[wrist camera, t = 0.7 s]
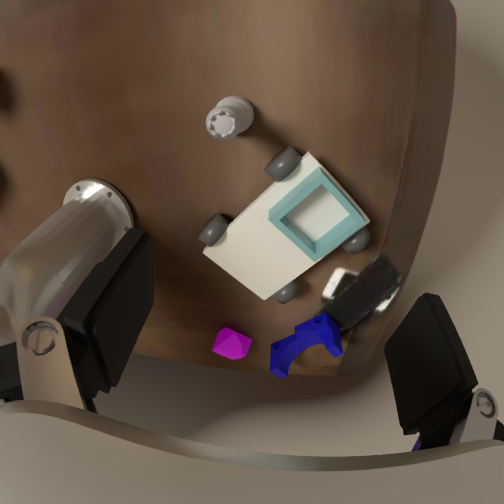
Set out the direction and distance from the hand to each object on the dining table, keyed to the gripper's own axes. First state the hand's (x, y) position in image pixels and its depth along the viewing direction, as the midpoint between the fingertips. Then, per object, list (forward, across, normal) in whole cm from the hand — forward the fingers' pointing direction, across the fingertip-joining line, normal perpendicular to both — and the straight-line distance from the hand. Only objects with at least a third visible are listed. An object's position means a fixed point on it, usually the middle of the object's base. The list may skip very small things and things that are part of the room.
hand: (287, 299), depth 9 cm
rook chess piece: (+26, +6, -1) cm, 27 cm away
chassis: (+26, -3, +11) cm, 29 cm away
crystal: (+26, 0, +34) cm, 43 cm away
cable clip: (+27, -11, +30) cm, 42 cm away
